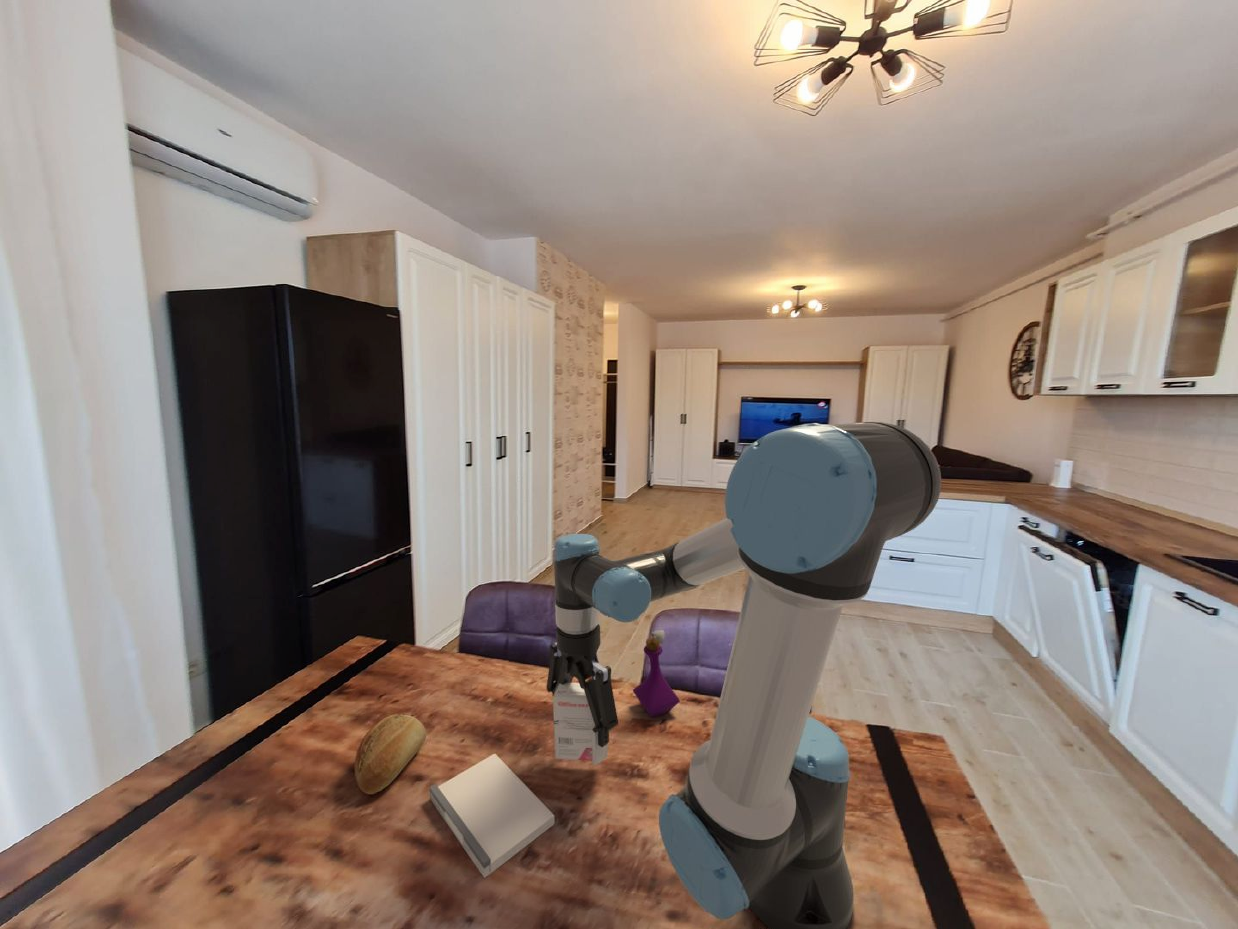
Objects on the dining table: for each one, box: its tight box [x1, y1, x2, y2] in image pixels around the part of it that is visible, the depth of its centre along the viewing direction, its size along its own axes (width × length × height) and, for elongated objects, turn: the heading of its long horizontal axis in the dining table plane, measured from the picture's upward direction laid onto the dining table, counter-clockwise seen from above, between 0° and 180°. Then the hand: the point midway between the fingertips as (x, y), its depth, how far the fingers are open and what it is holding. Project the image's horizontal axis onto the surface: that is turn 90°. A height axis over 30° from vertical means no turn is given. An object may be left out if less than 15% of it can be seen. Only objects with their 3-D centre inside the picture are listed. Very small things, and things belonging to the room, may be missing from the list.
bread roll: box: [354, 713, 427, 795], centre depth 84 cm, size 10×15×8 cm, turn 173°
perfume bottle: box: [632, 629, 681, 718], centre depth 99 cm, size 8×8×18 cm
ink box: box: [552, 682, 595, 762], centre depth 83 cm, size 9×5×12 cm, turn 84°
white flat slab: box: [429, 753, 555, 879], centre depth 76 cm, size 18×12×2 cm
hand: (581, 745), depth 83 cm, fingers closed on ink box, 9 cm apart
